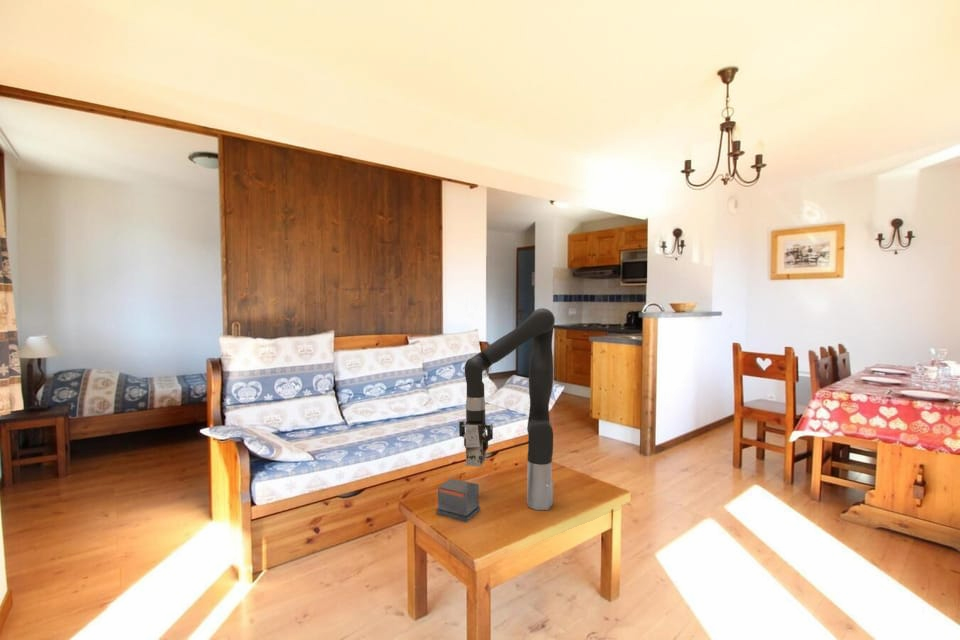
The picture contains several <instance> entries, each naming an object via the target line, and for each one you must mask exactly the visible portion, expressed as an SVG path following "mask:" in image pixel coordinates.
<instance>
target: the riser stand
mask: <svg viewBox="0 0 960 640" xmlns="http://www.w3.org/2000/svg"><path fill="white" fill-rule="evenodd" d="M479 487H480V485H479V484H478V483H475V482H470V481H465V480H460V479H457V478H453V477H451V478H449V479H447V480H446V481H445V482H443V483H442V484H440V485H438V486H437V499H438V500H437V506H438V507H437V509H436V510H435V512H436V515H439V516H443V517H447V518H449V519H454V520H458V521H462V522H465V523H468V522H469V521H470V520H471V519H473V517H475V516H476V515H477V514H479V512H481V506H480V504H479V503H480V501H479V497H480V496H479V493H480V492H479V491H480V489H479Z"/></svg>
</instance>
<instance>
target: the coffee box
mask: <svg viewBox="0 0 960 640" xmlns="http://www.w3.org/2000/svg"><path fill="white" fill-rule="evenodd" d="M484 430H485V431H486V432H487V430H486V427H485V429H483V424H481V423H473V422H468V423H467V424H466V426H465V432H466V448H465V466H469V467H470V466H471V467H478V468H480V467H482V466H483V464H484V463H485V461H486V459H487V450H486V451H483V436H482V435H483V433H484Z"/></svg>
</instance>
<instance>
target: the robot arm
mask: <svg viewBox="0 0 960 640" xmlns="http://www.w3.org/2000/svg"><path fill="white" fill-rule="evenodd" d="M555 322H556V318H555V316H554V314H553V312H552V311H551V310H550V309H548V308H543V307H542V308H538V309H536V310H534V311H533V312H532V313H531V314H530V316H528V317H527V318H526V319H525V320H524V321H523V322H522V323H521V324H519V326H517V327H516V328H515V329H513V330H511V331H510V332H508V333H507V334H504V335H503V336H501V337H499V338H498V339H497V340H496V341H494V342H492V343H491V344H489V345H488V346H487V347H486V348H484V349H483V350H482V351H480V352H479V353H477V354H476V355H474V356H472V357H471V358H469V359H467V361H466V362H465V364H464V376H465V382H466V383H465V384H466V401H465V417H466V418H465V419H466V420H461V421H459V422H458V429H459V432H458V433H459V437H462V438H463V446H464V448H465V449H466V424H467V423H468V422H473V423H481V424H483V429H485V427H486V431H485V430H484V433H483V435H482V436H483V451H486V452H487V450H488V449H489V442H490V441H491V440H493V439H494V438H493V437H494V430H493V427H494V426H493V423H490V424H489V423H486V399H485V397H486V396H485V384H484V382H483V372H484V371H486V370H487V369H489V368H490V367H491V366H492V365H494V364H497V362H500V361H502V359H504V358H506V357H507V356H509V355H510V354H511V353H512V352H514V351H515V350H516V349H518V348H519V347H520V346H522V345H523V344H525V343H526V342H527V341H530V340H531V339H532V348H531V352H530V353H531V354H530V358H529V359H530V360H529V366H528V367H529V368H528V391H529V395H528V396H529V412H528V420H527V427H526V430H527V435H528V443H527V444H528V445H527V446H528V447H527V448H528V449H527V465H526V467H527V469H526V472H527V473H526V474H527V476H526V481H527V482H526V488H527V489H526V505H527V507H529V508H530V509H533V510H535V511H536V510H537V511H549V510H550V508H551V507H552V506H553V505H554V480H553V479H552V477H553V476H552V469H553V468H552V467H553V466H552V465H553V454H554V429H553V427H552V425H551V423H550V400H551V396H552V391H553V386H554V359H553V358H554V356H553V348H552V347H553V336H554V335H553V333H554V327H555Z"/></svg>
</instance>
